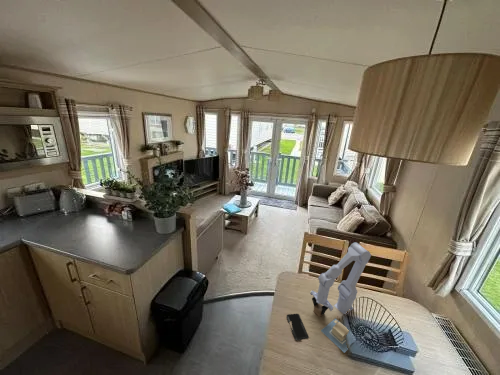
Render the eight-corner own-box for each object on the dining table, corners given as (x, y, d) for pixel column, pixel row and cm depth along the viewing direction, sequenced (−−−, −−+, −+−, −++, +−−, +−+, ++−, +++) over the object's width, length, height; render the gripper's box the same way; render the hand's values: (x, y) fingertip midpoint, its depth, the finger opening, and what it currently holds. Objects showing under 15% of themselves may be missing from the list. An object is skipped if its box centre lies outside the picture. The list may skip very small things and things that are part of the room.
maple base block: (337, 327, 119) (339, 321, 117) (347, 335, 114) (349, 330, 113) (331, 332, 115) (332, 327, 114) (341, 341, 111) (343, 336, 109)
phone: (295, 339, 110) (286, 314, 124) (295, 341, 110) (285, 316, 124) (309, 338, 111) (298, 313, 125) (309, 339, 111) (298, 314, 126)
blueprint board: (335, 319, 124) (335, 318, 124) (358, 338, 113) (358, 337, 113) (320, 331, 116) (320, 330, 116) (344, 353, 105) (344, 352, 105)
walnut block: (317, 308, 130) (319, 302, 129) (324, 313, 127) (325, 308, 125) (313, 311, 128) (314, 306, 126) (319, 317, 124) (320, 311, 123)
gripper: (308, 287, 126) (305, 305, 130) (329, 304, 115) (325, 323, 119) (316, 283, 130) (312, 300, 134) (337, 299, 119) (332, 317, 123)
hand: (319, 311), depth 127 cm, fingers closed on walnut block, 4 cm apart
